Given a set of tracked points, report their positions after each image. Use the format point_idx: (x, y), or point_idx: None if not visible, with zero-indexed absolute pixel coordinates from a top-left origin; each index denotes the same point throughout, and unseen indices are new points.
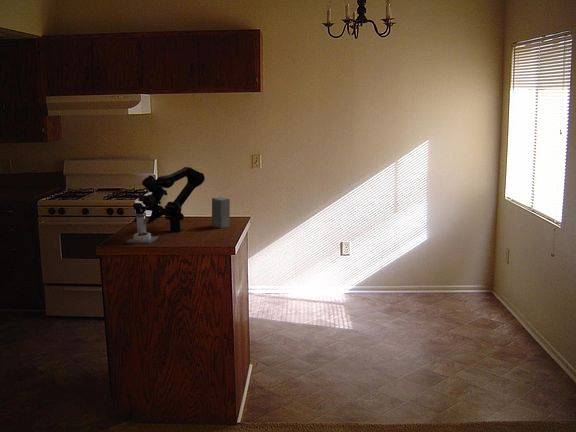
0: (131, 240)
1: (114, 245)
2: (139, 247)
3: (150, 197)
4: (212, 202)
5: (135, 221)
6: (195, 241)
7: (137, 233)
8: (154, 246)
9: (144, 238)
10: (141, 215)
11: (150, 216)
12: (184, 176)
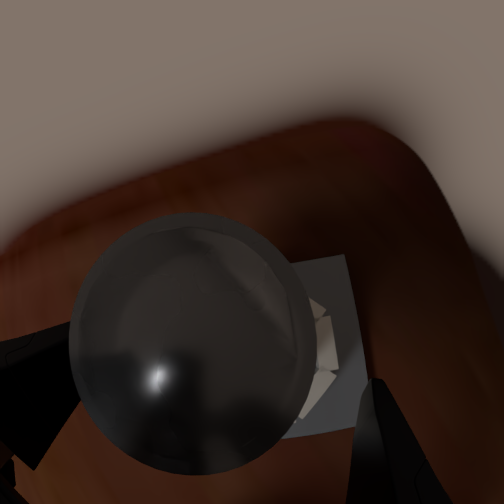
0: (325, 287)
1: (374, 186)
2: (190, 188)
3: None
4: None
5: (367, 389)
6: None
7: (325, 374)
8: (119, 230)
9: None
10: (125, 250)
11: (41, 343)
12: None
